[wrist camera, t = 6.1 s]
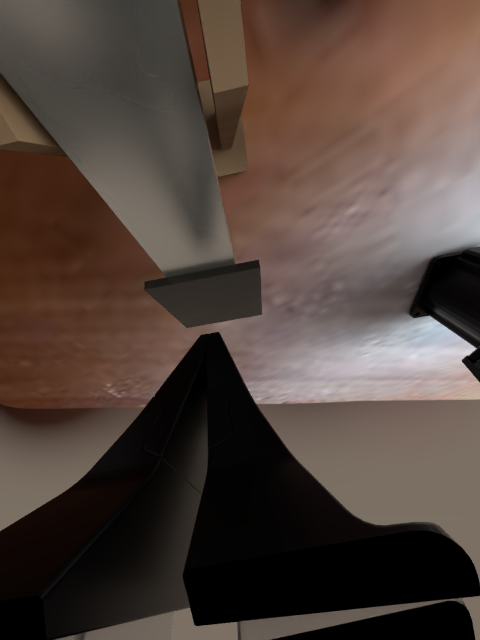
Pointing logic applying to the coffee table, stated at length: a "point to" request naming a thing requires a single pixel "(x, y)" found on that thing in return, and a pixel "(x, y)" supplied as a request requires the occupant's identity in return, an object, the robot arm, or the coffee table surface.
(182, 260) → the lever
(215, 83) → the lever stand
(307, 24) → the coffee table surface
